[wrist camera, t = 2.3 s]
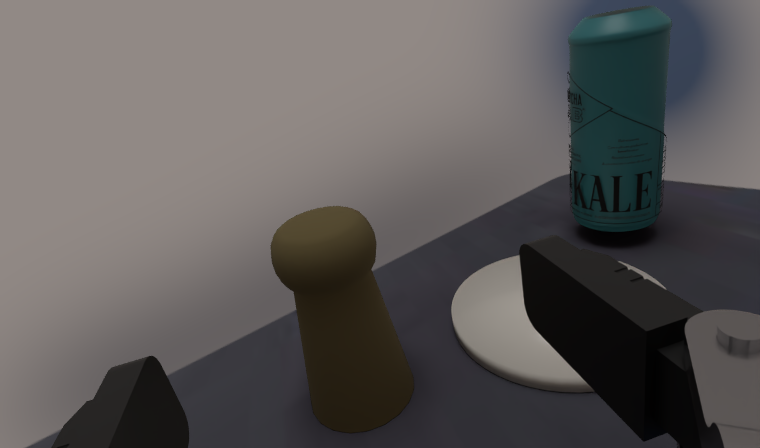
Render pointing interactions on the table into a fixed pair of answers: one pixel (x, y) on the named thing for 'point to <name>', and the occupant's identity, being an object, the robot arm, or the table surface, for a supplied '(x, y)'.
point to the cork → (342, 319)
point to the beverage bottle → (618, 117)
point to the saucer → (510, 330)
